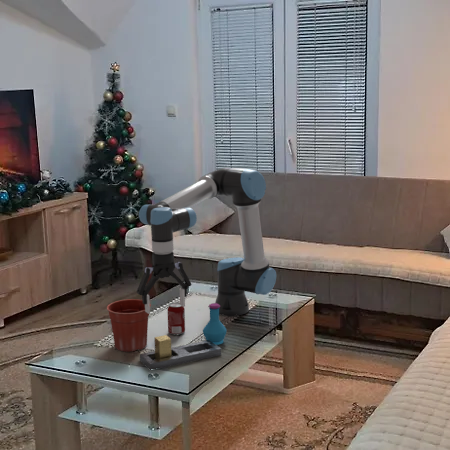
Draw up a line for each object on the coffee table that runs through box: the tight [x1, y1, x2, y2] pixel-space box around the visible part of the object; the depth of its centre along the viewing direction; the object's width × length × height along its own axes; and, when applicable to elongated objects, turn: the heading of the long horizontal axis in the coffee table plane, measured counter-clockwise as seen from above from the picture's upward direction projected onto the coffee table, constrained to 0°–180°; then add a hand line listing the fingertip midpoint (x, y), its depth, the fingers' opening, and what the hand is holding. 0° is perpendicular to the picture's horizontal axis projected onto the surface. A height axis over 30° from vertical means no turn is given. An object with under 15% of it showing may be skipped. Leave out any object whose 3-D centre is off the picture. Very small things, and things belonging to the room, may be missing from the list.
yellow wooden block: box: [154, 334, 173, 361], centre depth 253 cm, size 4×4×9 cm
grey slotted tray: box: [139, 339, 222, 371], centre depth 257 cm, size 28×10×2 cm, turn 118°
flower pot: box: [106, 298, 152, 353], centre depth 267 cm, size 16×16×16 cm
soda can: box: [166, 301, 186, 336], centre depth 281 cm, size 7×7×12 cm
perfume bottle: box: [202, 302, 228, 346], centre depth 271 cm, size 9×9×15 cm
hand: (165, 309), depth 252 cm, fingers open, 13 cm apart
